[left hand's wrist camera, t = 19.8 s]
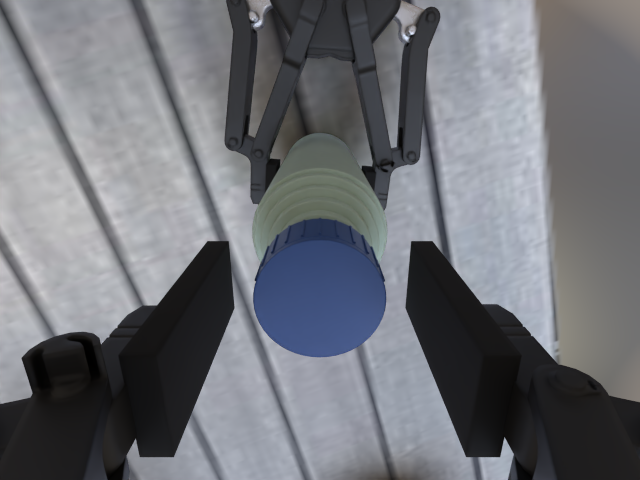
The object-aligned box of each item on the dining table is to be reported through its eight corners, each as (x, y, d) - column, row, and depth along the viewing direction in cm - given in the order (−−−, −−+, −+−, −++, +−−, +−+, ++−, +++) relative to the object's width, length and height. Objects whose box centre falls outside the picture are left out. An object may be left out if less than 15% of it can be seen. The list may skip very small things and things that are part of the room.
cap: (348, 337, 15) (353, 374, 13) (245, 299, 15) (233, 333, 13) (397, 243, 14) (411, 269, 12) (286, 198, 13) (280, 216, 11)
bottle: (343, 123, 34) (390, 173, 12) (362, 191, 36) (432, 346, 14) (275, 145, 35) (193, 232, 12) (297, 210, 37) (262, 389, 14)
